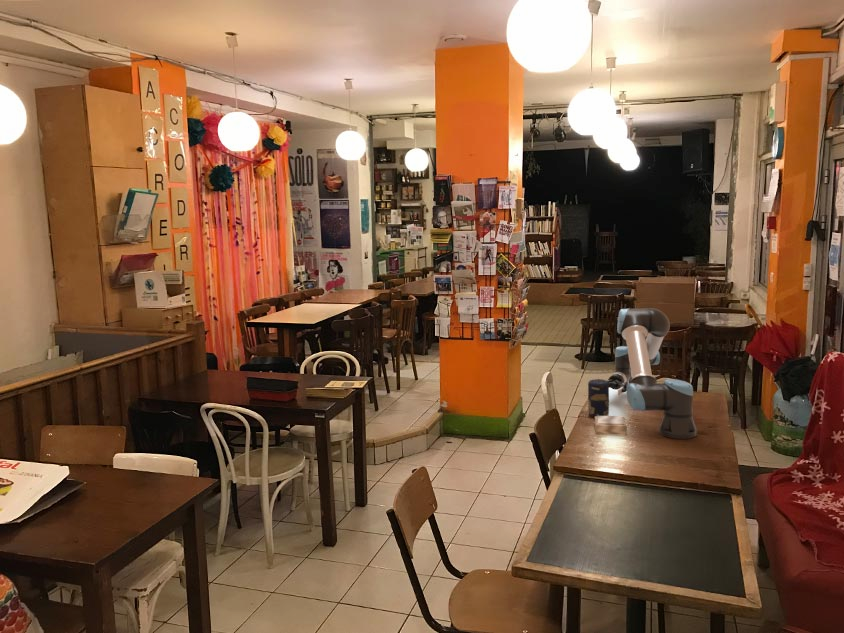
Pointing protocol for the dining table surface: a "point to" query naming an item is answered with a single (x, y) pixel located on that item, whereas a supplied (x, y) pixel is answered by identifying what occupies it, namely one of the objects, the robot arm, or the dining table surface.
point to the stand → (610, 425)
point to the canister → (598, 397)
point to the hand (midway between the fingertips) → (604, 391)
